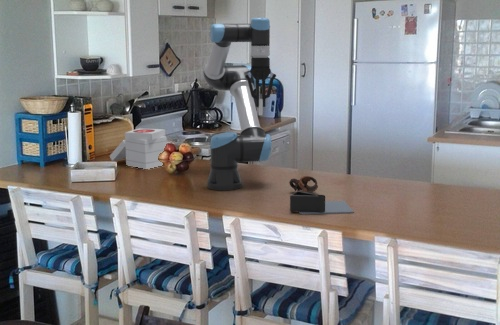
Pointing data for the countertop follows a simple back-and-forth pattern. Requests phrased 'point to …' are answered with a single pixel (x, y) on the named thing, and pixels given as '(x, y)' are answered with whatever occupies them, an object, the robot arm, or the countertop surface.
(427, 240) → the countertop surface
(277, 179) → the countertop surface
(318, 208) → the phone stand
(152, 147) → the pizza boxes
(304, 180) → the pottery mug
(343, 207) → the slate mat
